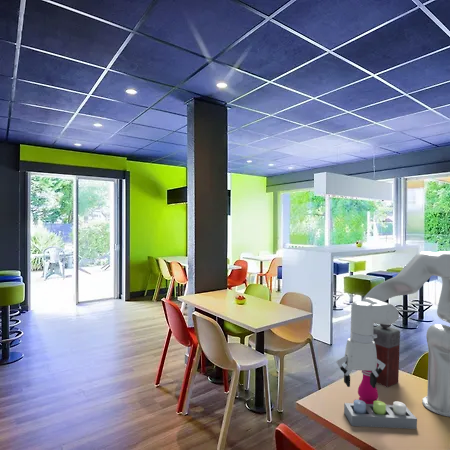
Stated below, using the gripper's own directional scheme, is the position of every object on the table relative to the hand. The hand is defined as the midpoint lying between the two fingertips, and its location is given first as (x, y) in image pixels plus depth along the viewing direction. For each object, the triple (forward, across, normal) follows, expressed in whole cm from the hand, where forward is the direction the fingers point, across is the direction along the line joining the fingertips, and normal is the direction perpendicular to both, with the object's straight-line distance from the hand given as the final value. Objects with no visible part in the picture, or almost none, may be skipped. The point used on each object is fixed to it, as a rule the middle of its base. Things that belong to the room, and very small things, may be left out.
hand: (359, 385), depth 117 cm
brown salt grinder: (+12, -23, -31) cm, 40 cm away
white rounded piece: (+10, -14, 0) cm, 17 cm away
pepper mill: (+12, -7, -10) cm, 17 cm away
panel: (+12, -7, 0) cm, 14 cm away
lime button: (+10, -7, 0) cm, 12 cm away
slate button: (+10, 0, 0) cm, 10 cm away
